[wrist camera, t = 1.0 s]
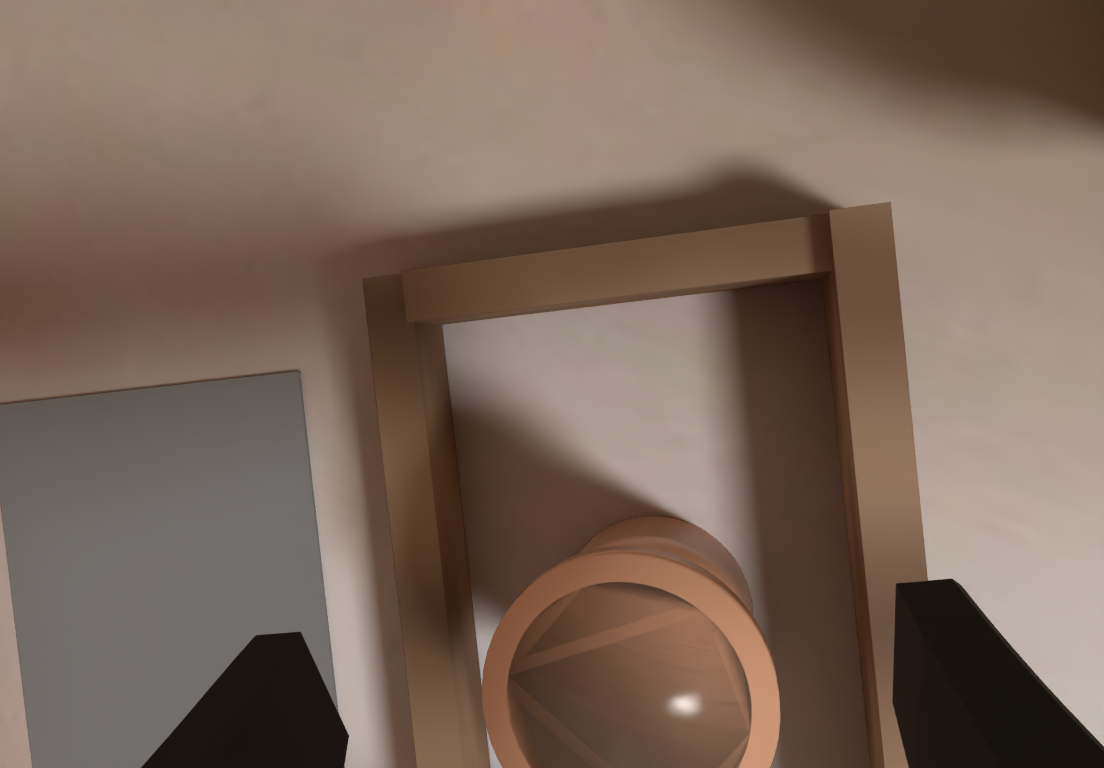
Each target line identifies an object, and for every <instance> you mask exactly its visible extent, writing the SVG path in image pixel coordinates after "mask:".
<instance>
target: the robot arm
mask: <svg viewBox="0 0 1104 768" xmlns="http://www.w3.org/2000/svg"><path fill="white" fill-rule="evenodd" d="M892 702H893V707H894V711H895V715H896V719H897V723H898V727H899V731H900V735H901V739H902V743H903V747H904V751H905V755H906V759H907V763H908V767H909V768H1104V746H1103V745H1102V744H1101V743H1100V742H1099V741H1098V740H1097V739H1096V738H1095V737H1094V736H1093V735H1092V734H1091V733H1090V732H1089V731H1088V730H1087V729H1086V728H1085V726H1084V725H1083V724H1082V723H1081V722H1080V721H1079V720H1078V719H1077V718H1076V717H1075V716H1074V715H1073V714H1072V713H1071V712H1070V711H1069V710H1068V709H1067V708H1066V707H1065V706H1064V704H1063V703H1062V702H1061V701H1060V700H1059V699H1058V698H1057V697H1056V696H1055V695H1054V694H1053V693H1052V691H1051V690H1050V689H1049V688H1048V687H1047V686H1046V685H1045V684H1044V683H1043V682H1042V680H1041V679H1040V678H1039V677H1038V676H1037V675H1036V674H1035V673H1034V671H1033V670H1032V669H1031V668H1030V667H1029V666H1028V665H1027V663H1026V662H1025V661H1024V660H1023V659H1022V658H1021V657H1020V656H1019V654H1018V653H1017V652H1016V651H1015V650H1014V649H1013V648H1012V646H1011V645H1010V644H1009V643H1008V642H1007V641H1006V639H1005V638H1004V637H1003V636H1002V635H1001V633H1000V632H999V631H998V630H997V629H996V628H995V626H994V625H993V624H992V623H991V622H990V620H989V619H988V618H987V617H986V616H985V614H984V613H983V612H982V611H981V609H980V608H979V607H978V606H977V604H976V603H975V602H974V601H973V600H972V598H971V597H970V596H969V595H968V593H967V592H966V591H965V589H964V588H963V587H962V586H961V585H960V584H959V583H957V582H956V581H954V580H953V579H944V580H932V581H919V582H907V583H896V597H895V631H894V665H893V699H892ZM348 738H349V735H348V733H347V731H346V729H345V726H344V724H343V722H342V720H341V718H340V716H339V713H338V711H337V709H336V707H335V705H334V703H333V700H332V698H331V696H330V694H329V692H328V690H327V687H326V685H325V683H324V681H323V679H322V677H321V674H320V672H319V670H318V668H317V666H316V664H315V661H314V659H313V657H312V655H311V653H310V651H309V648H308V646H307V644H306V642H305V640H304V638H303V635H302V633H301V632H289V633H277V634H264V635H255V637H254V638H253V639H252V640H251V641H250V642H249V643H248V644H247V645H246V647H245V648H244V649H243V650H242V651H241V652H240V653H239V654H238V656H237V657H236V658H235V659H234V660H233V661H232V663H231V664H230V665H229V666H228V667H227V668H226V670H225V671H224V672H223V673H222V674H221V675H220V677H219V678H218V679H217V680H216V681H215V682H214V684H213V685H212V686H211V687H210V688H209V690H208V691H207V692H206V693H205V694H204V695H203V697H202V698H201V699H200V700H199V701H198V702H197V704H196V705H195V706H194V707H193V708H192V710H191V711H190V712H189V713H188V714H187V715H186V717H185V718H184V719H183V720H182V721H181V722H180V724H179V725H178V726H177V727H176V728H175V729H174V731H173V732H172V733H171V734H170V735H169V736H168V737H167V739H166V740H165V741H164V742H163V743H162V744H161V745H160V747H159V748H158V749H157V750H156V751H155V752H154V753H153V755H152V756H151V757H150V758H149V759H148V760H147V761H146V763H145V764H144V765H143V766H142V767H141V768H344V763H345V757H346V751H347V744H348Z"/></svg>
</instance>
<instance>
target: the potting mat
mask: <svg viewBox="0 0 1104 768" xmlns="http://www.w3.org/2000/svg"><path fill="white" fill-rule="evenodd" d="M0 504H1V512H2V521H3V529H4V537H5V545H6V554H7V562H8V570H9V579H10V587H11V595H12V603H13V612H14V620H15V628H16V636H17V645H18V653H19V661H20V670H21V678H22V686H23V694H24V703H25V711H26V719H27V727H28V736H29V744H30V752H31V761H32V768H141V767H142V766H143V765H144V764H145V763H146V761H147V760H148V759H149V758H150V757H151V756H152V755H153V753H154V752H155V751H156V750H157V749H158V748H159V747H160V745H161V744H162V743H163V742H164V741H165V740H166V739H167V737H168V736H169V735H170V734H171V733H172V732H173V731H174V729H175V728H176V727H177V726H178V725H179V724H180V722H181V721H182V720H183V719H184V718H185V717H186V715H187V714H188V713H189V712H190V711H191V710H192V708H193V707H194V706H195V705H196V704H197V702H198V701H199V700H200V699H201V698H202V697H203V695H204V694H205V693H206V692H207V691H208V690H209V688H210V687H211V686H212V685H213V684H214V682H215V681H216V680H217V679H218V678H219V677H220V675H221V674H222V673H223V672H224V671H225V670H226V668H227V667H228V666H229V665H230V664H231V663H232V661H233V660H234V659H235V658H236V657H237V656H238V654H239V653H240V652H241V651H242V650H243V649H244V648H245V647H246V645H247V644H248V643H249V642H250V641H251V640H252V639H253V638H254V637H255V635H264V634H277V633H289V632H301V633H302V635H303V638H304V640H305V642H306V644H307V646H308V648H309V651H310V653H311V655H312V657H313V659H314V661H315V664H316V666H317V668H318V670H319V672H320V674H321V677H322V679H323V681H324V683H325V685H326V687H327V690H328V692H329V694H330V696H331V698H332V700H333V703H334V705H335V707H336V709H337V711H338V705H337V696H336V687H335V678H334V669H333V661H332V652H331V643H330V634H329V625H328V616H327V607H326V599H325V590H324V581H323V572H322V563H321V554H320V546H319V537H318V528H317V519H316V510H315V501H314V493H313V484H312V475H311V466H310V457H309V448H308V440H307V431H306V422H305V413H304V404H303V395H302V386H301V378H300V371H296V372H288V373H279V374H270V375H261V376H252V377H243V378H234V379H225V380H216V381H207V382H198V383H190V384H181V385H172V386H163V387H154V388H145V389H136V390H127V391H118V392H109V393H100V394H92V395H83V396H74V397H65V398H56V399H47V400H38V401H29V402H20V403H11V404H2V405H0ZM344 768H345V767H344Z"/></svg>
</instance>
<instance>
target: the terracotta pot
mask: <svg viewBox="0 0 1104 768" xmlns="http://www.w3.org/2000/svg"><path fill="white" fill-rule="evenodd" d="M482 703H483V712H484V718H485V723H486V728H487V731H488V734H489V738H490V741H491V744H492V746H493V749H494V751H495V753H496V755H497V758H498V760H499V762H500V764H501V765H502V767H503V768H770V766H771V764H772V761H773V759H774V755H775V751H776V747H777V743H778V738H779V728H780V698H779V689H778V681H777V676H776V670H775V664H774V661H773V658H772V654H771V651H770V648H769V645H768V643H767V641H766V639H765V636H764V634H763V632H762V630H761V628H760V626H759V625H758V623H757V621H756V620H755V618H754V617H753V605H752V599H751V593H750V590H749V587H748V583H747V580H746V578H745V576H744V574H743V572H742V570H741V568H740V566H739V565H738V563H737V562H736V560H735V558H734V557H733V556H732V555H731V553H730V552H729V551H728V550H727V549H726V548H725V547H724V546H723V545H722V544H721V543H720V542H719V541H718V540H717V539H716V538H714V537H713V536H712V535H710V534H709V533H707V532H706V531H704V530H702V529H701V528H699V527H697V526H695V525H693V524H690V523H688V522H685V521H682V520H679V519H675V518H671V517H663V516H642V517H635V518H630V519H627V520H623V521H620V522H618V523H616V524H613V525H611V526H609V527H607V528H606V529H604V530H602V531H601V532H599V533H598V534H597V535H596V536H594V537H593V538H592V539H591V540H590V541H589V542H588V543H587V544H586V545H585V546H584V547H583V548H582V550H581V551H580V552H579V553H578V554H577V555H574V556H572V557H569V558H567V559H565V560H563V561H561V562H559V563H558V564H556V565H554V566H552V567H551V568H549V569H548V570H546V571H545V572H544V573H543V574H541V575H540V576H539V577H538V578H536V579H535V580H534V581H533V582H532V583H531V584H530V585H529V586H528V587H527V588H526V589H525V591H524V592H523V593H522V594H521V595H520V596H519V597H518V598H517V599H516V601H515V602H514V603H513V604H512V605H511V607H510V608H509V610H508V611H507V612H506V614H505V615H504V617H503V618H502V620H501V622H500V623H499V625H498V627H497V629H496V631H495V633H494V635H493V638H492V640H491V643H490V646H489V649H488V651H487V656H486V660H485V665H484V669H483V680H482Z"/></svg>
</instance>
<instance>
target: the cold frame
mask: <svg viewBox="0 0 1104 768" xmlns="http://www.w3.org/2000/svg"><path fill="white" fill-rule="evenodd" d="M401 273H402V274H396V275H388V276H381V277H373V278H366V279H363V287H364V296H365V305H366V314H367V323H368V332H369V341H370V350H371V359H372V368H373V377H374V386H375V395H376V404H377V413H378V422H379V431H380V440H381V449H382V458H383V467H384V476H385V485H386V494H387V503H388V512H389V521H390V530H391V539H392V548H393V557H394V566H395V575H396V584H397V593H398V602H399V611H400V620H401V629H402V638H403V647H404V656H405V665H406V674H407V683H408V692H409V701H410V710H411V719H412V728H413V737H414V746H415V755H416V763H417V768H490V759H489V750H488V741H487V732H486V723H485V718H484V712H483V703H482V686H481V677H480V668H479V659H478V650H477V641H476V631H475V622H474V613H473V604H472V595H471V586H470V577H469V568H468V558H467V549H466V540H465V531H464V522H463V513H462V504H461V494H460V485H459V476H458V467H457V458H456V449H455V440H454V431H453V421H452V412H451V403H450V394H449V385H448V376H447V367H446V358H445V348H444V339H443V330H442V324H450V323H458V322H466V321H475V320H483V319H491V318H500V317H508V316H516V315H525V314H533V313H541V312H550V311H558V310H567V309H575V308H583V307H592V306H600V305H608V304H617V303H625V302H633V301H642V300H650V299H658V298H667V297H675V296H683V295H692V294H700V293H708V292H717V291H725V290H733V289H742V288H750V287H758V286H767V285H775V284H783V283H792V282H800V281H808V280H817V279H822V285H823V295H824V305H825V315H826V325H827V335H828V344H829V354H830V364H831V374H832V384H833V394H834V404H835V414H836V424H837V434H838V444H839V454H840V464H841V474H842V484H843V494H844V504H845V514H846V524H847V534H848V544H849V554H850V564H851V574H852V584H853V594H854V604H855V614H856V624H857V634H858V644H859V654H860V664H861V674H862V684H863V694H864V704H865V714H866V724H867V734H868V744H869V754H870V764H871V768H909V767H908V763H907V759H906V755H905V751H904V747H903V743H902V739H901V735H900V731H899V727H898V723H897V719H896V715H895V711H894V707H893V702H892V699H893V665H894V631H895V597H896V583H907V582H919V581H928V578H927V567H926V557H925V547H924V537H923V527H922V517H921V506H920V496H919V486H918V476H917V466H916V455H915V445H914V435H913V425H912V415H911V405H910V394H909V384H908V374H907V364H906V354H905V343H904V333H903V323H902V313H901V303H900V293H899V282H898V272H897V262H896V252H895V242H894V231H893V221H892V211H891V202H886V203H879V204H872V205H864V206H857V207H850V208H842V209H835V210H829V211H828V213H827V214H821V215H814V216H806V217H799V218H792V219H784V220H777V221H769V222H762V223H754V224H747V225H740V226H732V227H725V228H717V229H710V230H702V231H695V232H688V233H680V234H673V235H665V236H658V237H650V238H643V239H636V240H628V241H621V242H613V243H606V244H598V245H591V246H584V247H576V248H569V249H561V250H554V251H546V252H539V253H532V254H524V255H517V256H509V257H502V258H494V259H487V260H480V261H472V262H465V263H457V264H450V265H442V266H435V267H428V268H420V269H413V270H405V271H401Z"/></svg>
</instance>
